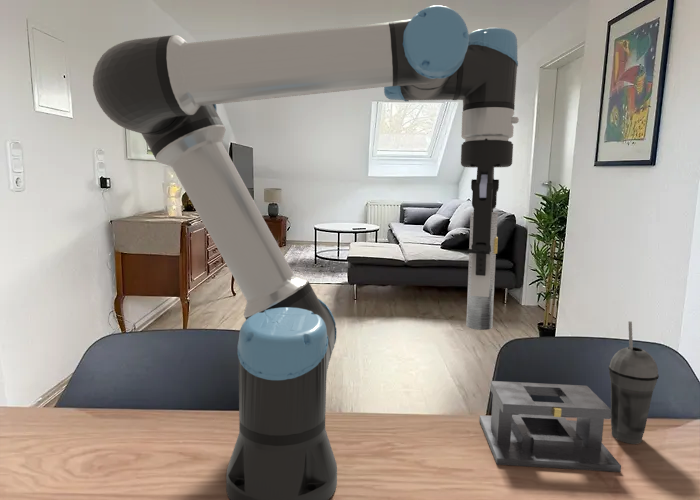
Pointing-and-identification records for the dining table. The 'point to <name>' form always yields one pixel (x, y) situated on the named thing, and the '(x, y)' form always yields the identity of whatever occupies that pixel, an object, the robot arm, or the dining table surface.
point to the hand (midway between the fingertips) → (480, 292)
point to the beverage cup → (631, 391)
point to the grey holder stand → (547, 427)
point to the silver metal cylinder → (483, 306)
